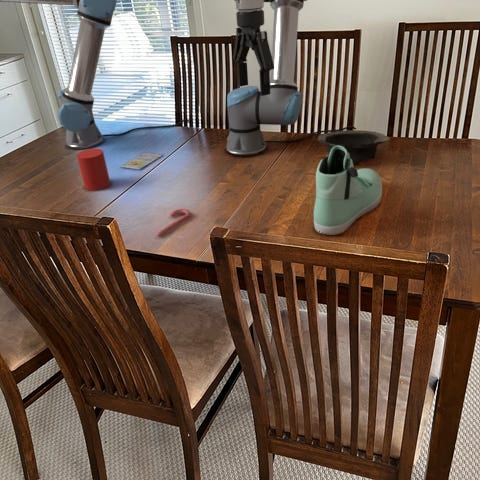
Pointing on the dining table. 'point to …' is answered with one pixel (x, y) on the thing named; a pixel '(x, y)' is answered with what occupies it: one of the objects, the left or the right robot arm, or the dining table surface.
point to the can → (93, 169)
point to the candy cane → (177, 222)
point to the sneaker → (343, 192)
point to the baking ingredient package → (141, 161)
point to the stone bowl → (354, 143)
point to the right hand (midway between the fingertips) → (254, 90)
